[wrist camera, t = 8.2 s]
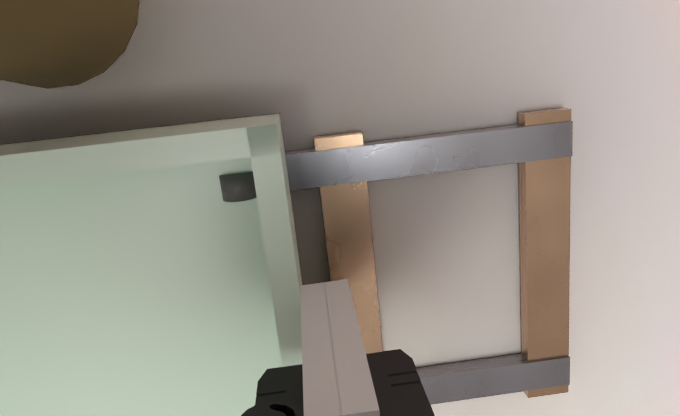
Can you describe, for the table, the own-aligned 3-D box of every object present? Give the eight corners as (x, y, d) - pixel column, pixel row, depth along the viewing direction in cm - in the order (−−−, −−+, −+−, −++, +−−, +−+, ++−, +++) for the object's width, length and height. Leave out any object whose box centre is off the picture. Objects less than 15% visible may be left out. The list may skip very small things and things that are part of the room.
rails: (-123, 187, 18) (-140, 192, 17) (562, 107, 19) (572, 109, 18) (-27, 467, 21) (-37, 481, 20) (560, 383, 22) (569, 393, 21)
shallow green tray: (-148, 161, 16) (-243, 183, 14) (279, 113, 17) (276, 123, 14) (-25, 508, 20) (-80, 584, 17) (325, 456, 21) (330, 521, 18)
